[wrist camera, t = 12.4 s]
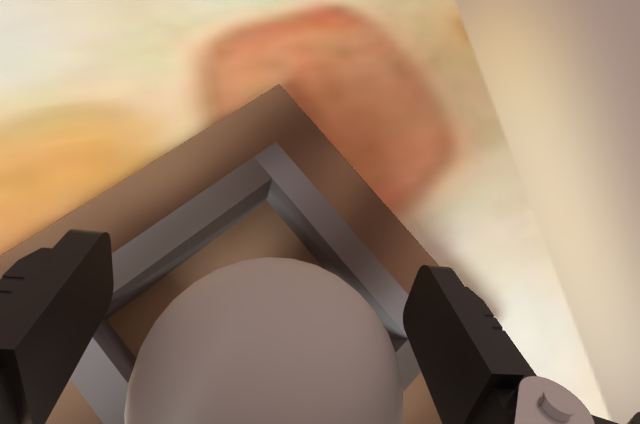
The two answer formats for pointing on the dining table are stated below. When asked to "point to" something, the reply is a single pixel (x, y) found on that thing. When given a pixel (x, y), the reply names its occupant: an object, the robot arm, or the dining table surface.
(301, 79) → the dining table surface
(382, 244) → the bulb socket
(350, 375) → the lightbulb
